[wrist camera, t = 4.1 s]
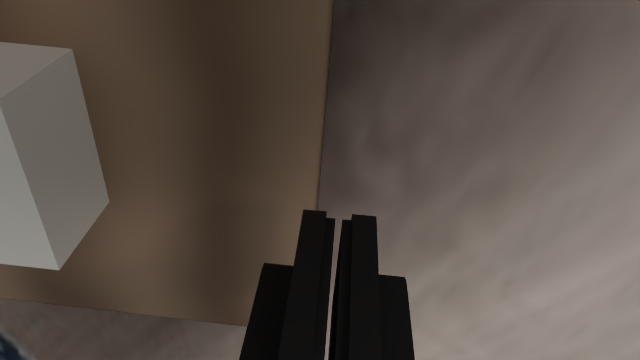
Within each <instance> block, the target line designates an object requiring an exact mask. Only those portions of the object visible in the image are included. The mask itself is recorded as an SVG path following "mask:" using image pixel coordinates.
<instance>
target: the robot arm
mask: <svg viewBox="0 0 640 360" xmlns="http://www.w3.org/2000/svg"><path fill="white" fill-rule="evenodd" d="M334 228H335V219H333V218H326V211H316V210H306V209H303V213H302V219H301V225H300V231H299V237H298V243H297V248H296V254H295V260H294V266H291V265H281V264H272V263H264V264H263V267H262V270H261V274H260V278H259V282H258V286H257V290H256V294H255V298H254V302H253V306H252V310H251V314H250V318H249V322H248V326H247V330H246V334H245V338H244V342H243V346H242V350H241V354H240V358H239V360H324V357H325V345H326V332H327V319H328V306H329V293H330V280H331V267H332V254H333V241H334ZM328 360H415V358H414V349H413V339H412V330H411V320H410V310H409V301H408V291H407V283H406V279H405V277H398V276H388V275H379V274H378V248H377V223H376V216H366V215H356V214H352V219H351V220H342V228H341V236H340V244H339V253H338V261H337V269H336V278H335V286H334V294H333V303H332V314H331V329H330V343H329V358H328Z"/></svg>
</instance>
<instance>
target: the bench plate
mask: <svg viewBox="0 0 640 360" xmlns="http://www.w3.org/2000/svg"><path fill="white" fill-rule="evenodd" d="M333 10H334V0H0V42H6V43H17V44H27V45H37V46H48V47H58V48H68V49H72V50H73V54H74V58H75V62H76V66H77V70H78V74H79V78H80V82H81V87H82V91H83V95H84V99H85V103H86V107H87V111H88V115H89V119H90V123H91V128H92V132H93V136H94V140H95V144H96V148H97V152H98V156H99V160H100V165H101V169H102V173H103V177H104V181H105V185H106V189H107V193H108V197H109V203H108V204H107V206H106V207H105V208H104V210H103V211H102V213H101V214H100V215H99V217H98V218H97V219H96V221H95V222H94V224H93V225H92V226H91V228H90V229H89V230H88V232H87V233H86V234H85V236H84V237H83V239H82V240H81V241H80V243H79V244H78V245H77V247H76V248H75V250H74V251H73V252H72V254H71V255H70V256H69V258H68V259H67V260H66V262H65V263H64V265H63V266H62V267H61V269H60V270H52V269H43V268H34V267H25V266H16V265H8V264H0V298H4V299H13V300H22V301H30V302H39V303H48V304H57V305H65V306H74V307H83V308H91V309H100V310H109V311H117V312H126V313H135V314H144V315H152V316H161V317H170V318H178V319H187V320H196V321H205V322H213V323H222V324H231V325H239V326H248V322H249V318H250V314H251V310H252V306H253V302H254V298H255V294H256V290H257V286H258V282H259V278H260V274H261V270H262V267H263V264H264V263H272V264H281V265H291V266H294V260H295V254H296V248H297V243H298V237H299V231H300V225H301V219H302V213H303V209H306V210H316V211H317V209H318V197H319V184H320V172H321V159H322V147H323V135H324V122H325V110H326V97H327V85H328V72H329V60H330V47H331V35H332V23H333Z"/></svg>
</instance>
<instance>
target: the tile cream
mask: <svg viewBox="0 0 640 360" xmlns="http://www.w3.org/2000/svg"><path fill="white" fill-rule="evenodd" d="M108 203H109V197H108V193H107V189H106V185H105V181H104V177H103V173H102V169H101V165H100V160H99V156H98V152H97V148H96V144H95V140H94V136H93V132H92V128H91V123H90V119H89V115H88V111H87V107H86V103H85V99H84V95H83V91H82V87H81V82H80V78H79V74H78V70H77V66H76V62H75V58H74V54H73V50H72V49H68V48H58V47H48V46H37V45H27V44H17V43H6V42H0V264H8V265H16V266H25V267H34V268H43V269H52V270H60V269H61V267H62V266H63V265H64V263H65V262H66V260H67V259H68V258H69V256H70V255H71V254H72V252H73V251H74V250H75V248H76V247H77V245H78V244H79V243H80V241H81V240H82V239H83V237H84V236H85V234H86V233H87V232H88V230H89V229H90V228H91V226H92V225H93V224H94V222H95V221H96V219H97V218H98V217H99V215H100V214H101V213H102V211H103V210H104V208H105V207H106V206H107V204H108Z"/></svg>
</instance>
